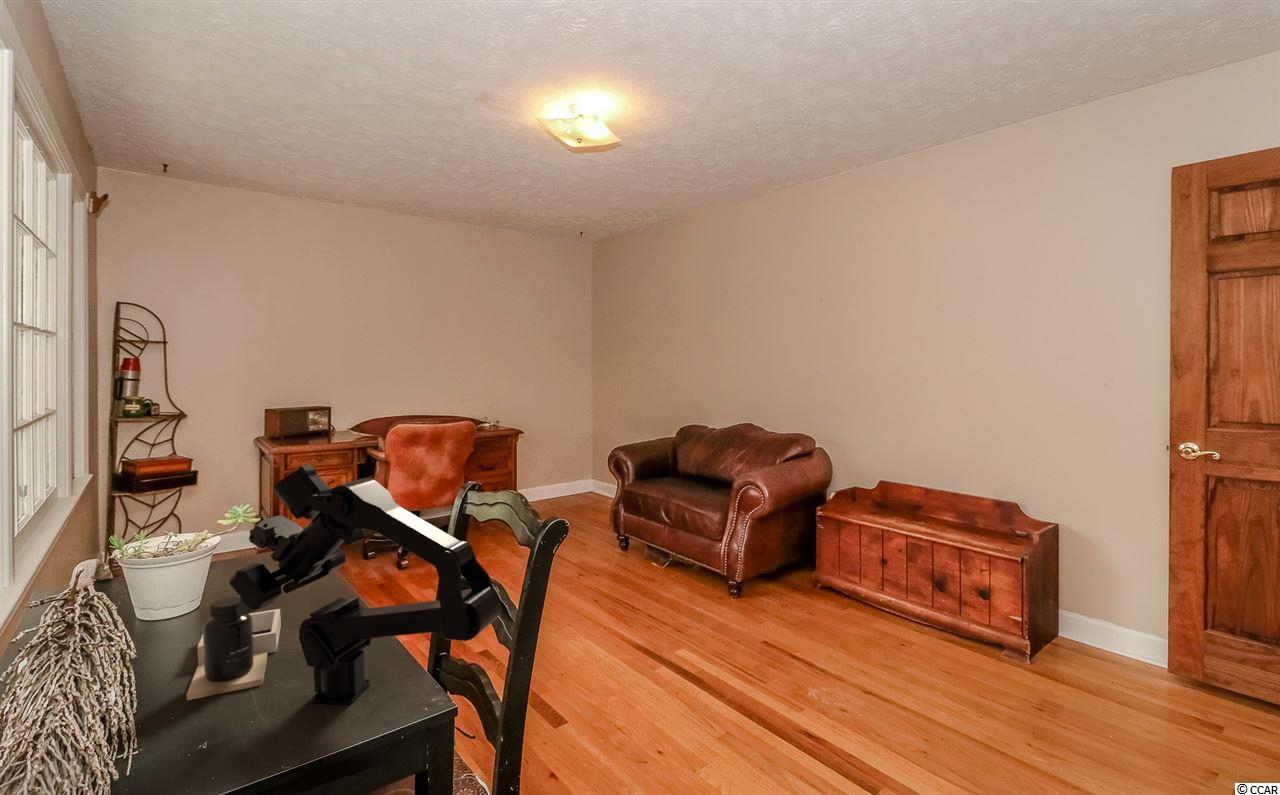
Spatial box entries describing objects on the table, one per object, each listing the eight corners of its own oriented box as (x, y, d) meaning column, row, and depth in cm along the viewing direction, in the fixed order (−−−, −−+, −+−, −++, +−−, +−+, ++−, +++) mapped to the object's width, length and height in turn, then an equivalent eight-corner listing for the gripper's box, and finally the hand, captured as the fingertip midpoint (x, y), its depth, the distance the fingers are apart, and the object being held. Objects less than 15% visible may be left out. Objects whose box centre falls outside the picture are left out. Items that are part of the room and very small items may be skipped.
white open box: (280, 625, 121) (280, 608, 121) (276, 651, 111) (275, 632, 111) (209, 638, 116) (208, 620, 116) (198, 666, 106) (197, 646, 106)
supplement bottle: (241, 681, 99) (238, 609, 98) (195, 684, 98) (191, 611, 97) (262, 660, 106) (259, 592, 105) (219, 662, 105) (215, 594, 104)
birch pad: (267, 657, 109) (267, 652, 109) (262, 684, 100) (261, 679, 100) (198, 670, 104) (198, 664, 104) (186, 700, 96) (186, 694, 96)
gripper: (328, 489, 106) (276, 547, 110) (237, 517, 88) (177, 586, 91) (370, 536, 105) (316, 594, 109) (286, 575, 87) (224, 643, 90)
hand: (262, 601), depth 100 cm, fingers open, 9 cm apart
